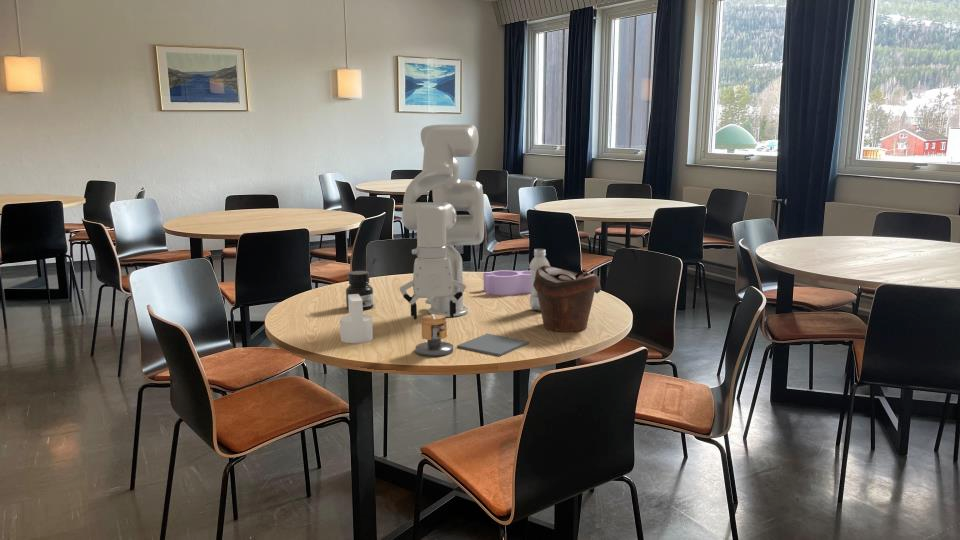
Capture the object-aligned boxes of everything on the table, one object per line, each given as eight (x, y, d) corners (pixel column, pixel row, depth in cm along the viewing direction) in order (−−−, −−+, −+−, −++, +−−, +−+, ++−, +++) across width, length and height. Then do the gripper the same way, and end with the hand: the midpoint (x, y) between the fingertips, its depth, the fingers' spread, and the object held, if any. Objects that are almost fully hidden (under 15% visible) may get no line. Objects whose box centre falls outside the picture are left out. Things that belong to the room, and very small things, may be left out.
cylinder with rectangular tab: (375, 341, 197) (373, 299, 195) (342, 344, 195) (340, 302, 193) (370, 333, 206) (368, 293, 204) (339, 335, 203) (337, 295, 201)
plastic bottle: (549, 312, 227) (549, 251, 223) (528, 312, 228) (528, 251, 225) (551, 308, 233) (551, 248, 229) (530, 307, 235) (530, 247, 231)
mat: (457, 347, 191) (457, 345, 191) (487, 335, 202) (487, 333, 202) (500, 356, 183) (500, 354, 183) (528, 343, 194) (528, 341, 194)
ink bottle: (353, 312, 230) (352, 276, 228) (340, 307, 237) (339, 272, 235) (379, 307, 237) (378, 272, 234) (366, 303, 243) (364, 269, 241)
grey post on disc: (407, 352, 187) (406, 323, 185) (432, 343, 195) (431, 315, 193) (437, 359, 181) (436, 329, 179) (460, 349, 189) (460, 320, 187)
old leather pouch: (607, 333, 202) (607, 271, 199) (538, 336, 201) (537, 274, 198) (592, 318, 220) (593, 261, 217) (528, 321, 218) (528, 264, 215)
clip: (535, 287, 267) (535, 269, 265) (542, 294, 254) (542, 275, 253) (482, 289, 264) (482, 271, 263) (487, 296, 252) (486, 277, 251)
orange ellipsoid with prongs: (421, 334, 190) (420, 314, 189) (444, 332, 191) (444, 312, 190) (423, 340, 183) (422, 320, 182) (447, 339, 184) (447, 318, 183)
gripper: (399, 256, 178) (401, 322, 180) (467, 254, 180) (468, 319, 183) (397, 252, 185) (399, 316, 188) (463, 250, 188) (464, 313, 190)
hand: (433, 317), depth 185 cm, fingers open, 9 cm apart
